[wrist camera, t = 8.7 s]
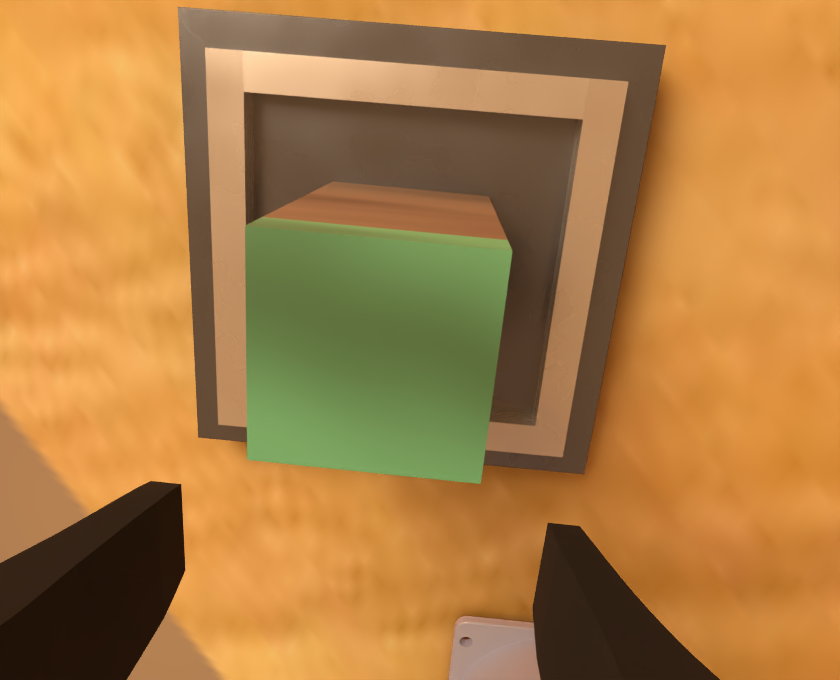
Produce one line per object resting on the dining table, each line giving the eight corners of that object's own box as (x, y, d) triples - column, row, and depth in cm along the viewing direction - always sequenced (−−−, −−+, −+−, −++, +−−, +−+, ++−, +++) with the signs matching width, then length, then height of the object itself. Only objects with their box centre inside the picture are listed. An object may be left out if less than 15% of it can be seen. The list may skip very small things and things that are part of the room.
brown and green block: (470, 342, 19) (480, 483, 12) (327, 328, 20) (247, 459, 12) (488, 196, 18) (512, 251, 10) (332, 181, 18) (244, 225, 10)
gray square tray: (573, 445, 23) (589, 487, 20) (219, 411, 23) (188, 449, 20) (644, 53, 18) (676, 41, 16) (205, 18, 19) (164, 1, 16)
